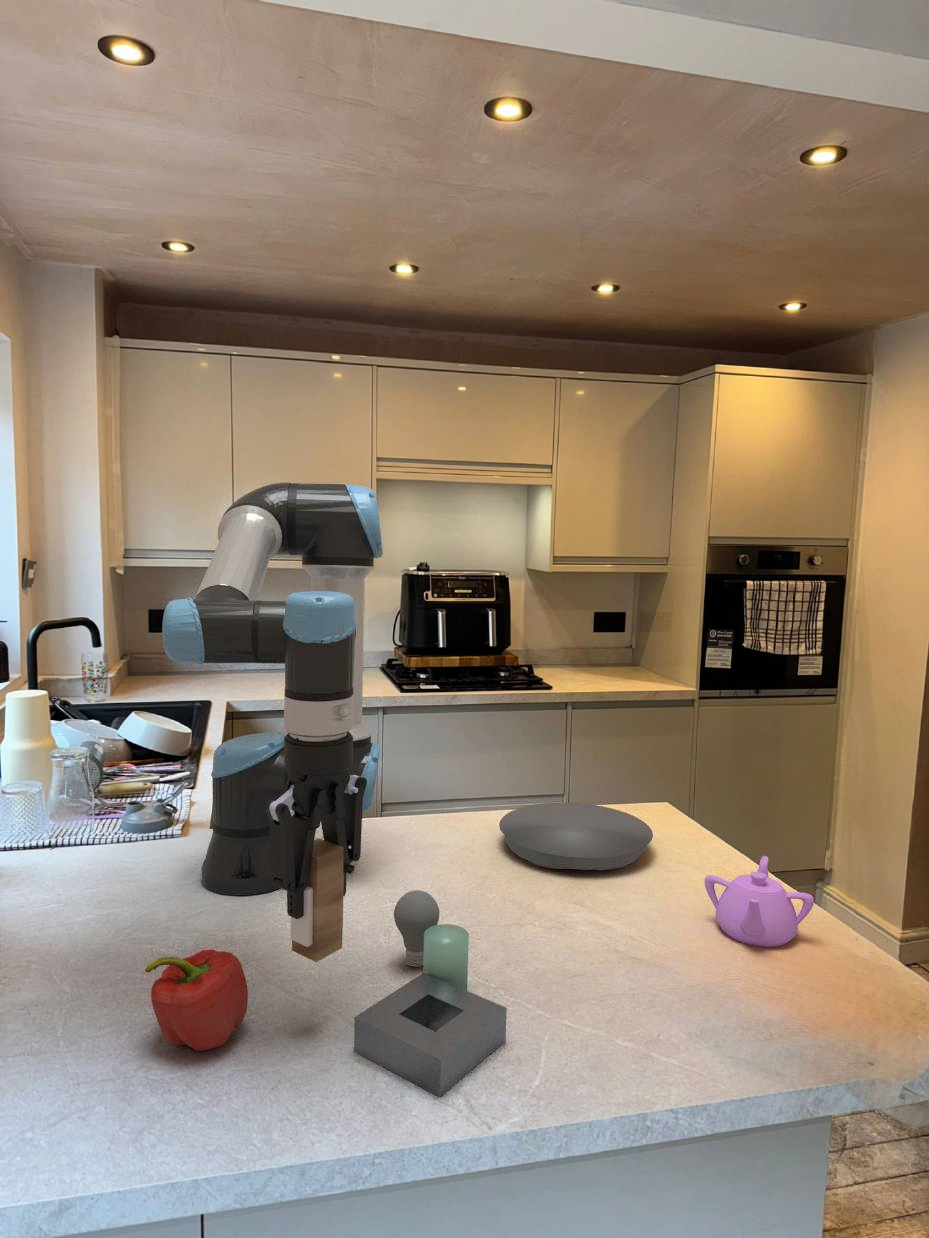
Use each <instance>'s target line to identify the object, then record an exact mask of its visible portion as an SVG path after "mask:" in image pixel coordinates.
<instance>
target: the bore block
mask: <svg viewBox="0 0 929 1238" xmlns="http://www.w3.org/2000/svg"><path fill="white" fill-rule="evenodd" d="M507 1009H508V1008H507V1007H506V1006H503V1005H501V1004H499V1003H497V1002H495V1001H492V1000H489V999H487V998H485V997H483V996H480V995H478V994H475V993H473V992H470V991H469V990H467V991H466V990H464V989H461V988H459V987H457V986H454V985H452V984H450V983H447V982H445V981H443V980H440V979H438V978H436V977H433V976H431V975H429V974H426V973H423V972H422V973H421V974H419V975H417V976H416V977H415V978H413V979H412V980H409V982H407V983H406V984H403V985H402V986H401V987H399V988H398V989H396V990H394V991H393V992H391V993H390V994H388V995H387V996H385V997H383V998H382V999H381V1000H379V1001H377V1002H376V1003H374V1004H372V1005H371V1006H369V1007H367V1008H366V1009H365V1010H363V1011H361V1012H360V1013H359V1014H357V1015H355V1016H354V1027H353V1028H354V1029H353V1030H354V1032H353V1033H354V1034H353V1035H354V1036H353V1038H354V1039H353V1042H354V1043H353V1052H354V1053H356V1054H358V1055H360V1056H362V1057H363V1058H366V1059H368V1060H369V1061H371V1062H373V1063H374V1064H377V1065H378V1066H380V1067H382V1068H384V1069H386V1070H388V1071H390V1072H392V1073H394V1074H395V1075H397V1076H399V1077H401V1078H403V1079H405V1080H407V1081H408V1082H410V1083H413V1084H414V1085H416V1086H418V1087H420V1088H422V1089H424V1090H425V1091H427V1092H430V1093H431V1094H433V1095H435V1096H437V1097H439V1098H441V1097H442V1096H443V1095H444V1094H446V1093H447V1092H448V1091H449V1090H450V1089H452V1087H453V1088H454V1086H455V1085H456V1084H458V1083H459V1082H460V1081H461V1080H462V1079H464V1077H465V1076H467V1075H468V1074H469V1073H470V1072H471V1071H473V1070H474V1069H476V1067H478V1066H479V1064H481V1063H482V1062H484V1061H485V1060H486V1059H487V1058H488V1057H489V1056H490V1055H492V1053H494V1052H495V1051H496V1050H497V1049H498V1048H499V1047H501V1046H502V1045H504V1043H505V1042H506V1041H507V1037H506V1036H507Z"/></svg>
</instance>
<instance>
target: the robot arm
mask: <svg viewBox="0 0 929 1238" xmlns="http://www.w3.org/2000/svg"><path fill="white" fill-rule="evenodd" d="M381 531H382V529H381V523H380V516H379V506H378V501H377V496H376V493H375V491H374V490H373V489H372V488H370V486H369V487H368V486H365V485H356V484H355V485H354V484H348V483H345V484H344V483H343V484H341V483H340V484H339V483H338V484H337V483H301V482H300V483H295V482H277V483H270V484H267V485H263V486H261V487H258V488H255V489H254V490H252V491H250V492H248V493H246V494H244V495H242V496H241V497H239V498H238V499H237V500H235V501H234V502H233V503H232V504H231V505H230V506H229V507H228V508H227V509H226V510H225V512H224V513H223V515H222V516H221V519H220V522H219V524H218V528H217V540H218V543H217V546H216V548H215V550H214V552H213V555H212V558H211V560H210V562H209V564H208V566H207V568H206V572H205V574H204V576H203V578H202V581H201V583H200V584H199V585H200V586H199V588H198V590H197V592H196V595H195V597H194V598H191V597H187V598H182V599H173V600H170V601H169V602H168V603H167V605H166V606H165V609H164V611H163V617H162V628H161V630H162V633H161V634H162V644H163V649H164V653H165V654H166V656H167V658H169V660H171V661H173V662H178V663H191V664H192V663H193V664H194V663H195V664H198V665H203V664H270V665H271V664H272V665H273V664H275V665H277V664H280V665H281V664H284V695H283V697H284V699H283V703H284V704H283V729H284V730H285V732H286V734H283V733H280V732H272V731H271V732H257V733H252V734H245V735H242V736H238V737H234V738H231V739H227V740H226V741H224V742H222V743H221V744H219V745H218V746H217V747H216V748H215V750H214V753H213V757H212V771H211V772H210V773H211V774H210V776H211V777H212V834H211V838H210V841H209V845H208V848H207V852H206V855H205V859H203V860H204V861H203V863H202V865H201V883H202V885H203V886H204V887H205V888H206V889H208V890H209V891H212V892H215V893H219V894H223V895H231V896H250V895H259V894H264V893H269V892H273V891H275V890H279V889H281V890H284V891H286V913H287V916H289V917H290V940H291V941H292V940H294V941H296V942H298V943H300V944H302V945H304V946H306V947H309V946H310V945H312V936H313V888H311V887H308V886H307V884H308V877H309V871H310V865H311V858H312V852H313V845H314V840H316V839H315V838H316V832H317V829H319V828H320V826H321V830H322V831H321V832H322V837H323V840H325V841H328V842H330V843H333V844H336V845H339V846H342V847H344V859H343V897H345V896H346V895H347V894H346V893H347V874H350V875H351V874H352V873H353V872H354V870H355V865H353V864H352V863H353V862H358V861H359V860H360V858H361V854H362V853H361V851H362V850H361V849H362V828H363V826H362V825H363V814H364V813H366V812H368V811H369V810H370V809H371V806H372V803H373V800H374V795H375V789H376V788H375V787H376V782H377V775H378V767H379V765H378V764H379V758H380V745H379V743H376V742H374V741H372V732H371V731H370V729H369V728H367V727H366V726H365V725H364V723H363V683H364V682H363V681H364V680H363V678H364V673H363V672H364V670H363V669H364V619H365V617H364V612H365V611H364V610H365V606H364V605H365V578H366V577H367V576H368V575H369V574H370V573H371V572H372V571H373V570H374V561H375V559H378V558H382V557H383V543H382V532H381ZM278 555H279V556H283V555H285V556H299V557H300V556H301V568H302V569H303V570H304V571H305V572H306V573H307V574H308V575H309V577H310V578H311V579H310V585H311V586H310V591H309V590H308V591H298V592H293V593H290V594H289V595H288V596H287V597H286V600H259V599H260V595H261V593H262V588H263V585H264V582H265V577H266V575H267V571H268V568H269V563H270V560H271V559H273V558H274V557H275V556H278Z"/></svg>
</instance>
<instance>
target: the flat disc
mask: <svg viewBox="0 0 929 1238" xmlns="http://www.w3.org/2000/svg"><path fill="white" fill-rule="evenodd" d="M499 830H500V831H501V833H502V834H503V837H504V840H505V842H506V844H507V846H508V847H509V849H510V850H511V851H512V853H514V854H516V855H517V856H518V857H519V858H522V859H524V860H528V862H530V863H532V864H534V865H536V866H540V867H545V868H547V869H555V870H557V869H558V870H559V869H561V870H565V869H567V870H568V869H572V870H580V871H587V870H592V871H594V870H597V871H606V870H608V871H609V870H613V869H621V868H622V867H626V866H627V865H629V864H632V863H634V862H635V861H636V860H637V859H638V858H640V856H641V854H642V853H644V852H646V849H647V848H648V847H647V846H648V845H649V844H650V843H651V842H652V840H653V837H654V832H653V830H652V829H651V827H650V826H649V824H648V823H646V822H645V821H643V820H642V819H641V818H639V817H636V816H634V815H632V814H630V813H628V812H625V811H622V810H619V809H615V808H612V807H606V806H603V805H596V804H590V803H589V804H588V803H579V802H546V803H545V802H544V803H543V802H542V803H537V804H530V805H526V806H523V807H519V808H516V809H512V810H511V811H509V812H507V813H506V814H504V815H503V816H502V818H501V819H500V821H499Z"/></svg>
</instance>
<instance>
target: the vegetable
mask: <svg viewBox="0 0 929 1238" xmlns="http://www.w3.org/2000/svg"><path fill="white" fill-rule="evenodd" d="M160 966H166V967H165V969H164V970H163V971H162V972H161V975H160V977H158V978H156V979H155V981H154V982H153V983H152V987H151V990H150V997H151V1006H152V1008H153V1012H154V1015H155V1018H156V1021H157V1023H158V1025H159V1028H160V1030H161V1033H162V1034H163V1036H164V1037H165V1038H166V1039H167V1040H168V1041H169V1042H171V1043H173V1044H175V1045H179V1046H182V1045H187V1046H188V1047H189V1048H190V1047H191V1049H194V1050H195V1051H197V1052H198V1051H200V1052H201V1051H203V1052H204V1051H208V1050H211V1049H215V1048H217V1047H220V1046H222V1045H224V1044H225V1043H226V1042H227V1041H228V1040H229V1038H230V1036H231V1034H232V1032H233V1031H234V1030H236V1029H237V1028H239V1027H240V1026H241V1024H242V1022H243V1020H244V1018H245V1016H246V1014H247V1011H248V1010H247V1009H248V1004H249V1001H248V999H249V992H248V983H247V979H246V976H245V972H244V969H243V966H242V964H241V962H240V960H239V958H238V957H237V956H236V955H235V954H234V953H232V952H229V951H225V950H224V951H222V950H220V951H219V950H215V949H202V950H200V951H198V952H197V953H195V954H192V955H191V956H187V957H185V958H181V957H176V956H168V957H167V956H164V957H160V958H157V959H154V960H153V961H151V962H150V963H149V964H148V965H147V966H146V967H145V969H144V971H145V972H146V973H150V972H152V971H156V970H157V968H159V967H160Z"/></svg>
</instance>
